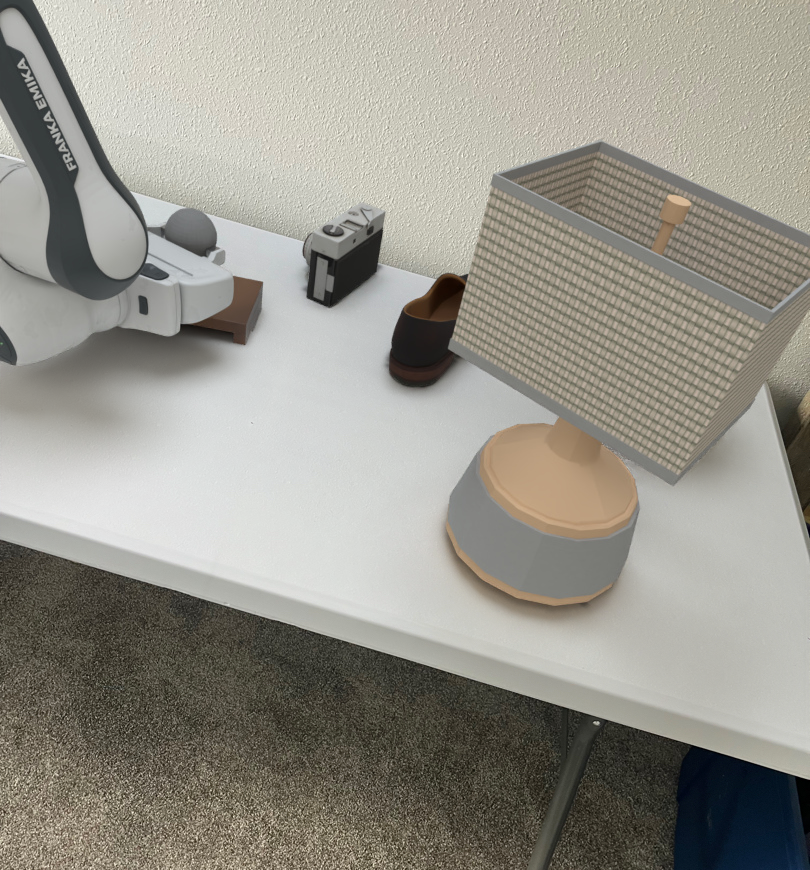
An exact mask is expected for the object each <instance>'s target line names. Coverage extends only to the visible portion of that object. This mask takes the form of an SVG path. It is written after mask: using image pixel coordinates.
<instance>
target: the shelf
mask: <svg viewBox="0 0 810 870" xmlns="http://www.w3.org/2000/svg"><path fill="white" fill-rule="evenodd" d="M233 281H234V293H233V300H232V303H231V304H230V305H229V306H228V307H227V308H225V309H223V310H222V311H220V312H218V313H216V314H214V315H212V316H210V317H208V318H206V319H204V320H202V321H199V322H196V323H192V324H190V325H192V326H197V327H202V328H207V329H212V330H217V331H222V332H226V333H227V332H228V333H233V334H232V335H233V338H232V340H233V341H232V343H233V344H235V345H236V344H237V345H242V346H246V345H247V342H248V339H249V337H250V334H251V332H252V333H253V332H254V330H255V327H256V324H257V322H258V319H259V317H260V314H261V312H262V308H263V293H264V292H263V291H264V281H261V280H257V279H251V278H248V277H242V276H237V275H233Z"/></svg>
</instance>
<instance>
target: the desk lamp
mask: <svg viewBox="0 0 810 870" xmlns="http://www.w3.org/2000/svg"><path fill="white" fill-rule="evenodd" d="M489 185H490V191H489V194H488V197H487V201H486V206H485V210H484V214H483V218H482V220H481V225H480V229H479V233H478V237H477V240H476V243H475V249H474V252H473V257H472V260H471V264H470V268H469V271H468V274H469V275H468V279H467V283H466V286H465V290H464V294H463V298H462V302H461V306H460V309H459V313H458V317H457V321H456V325H455V329H454V333H453V336H452V338H451V339H450V343H449V346H448V349H449V350H451V351H452V352H454V353H456V354H455V355H457V356H459V357H461V358H462V359H464V360H465V361H467V362H469V363H470V364H472V365H474V366H475V367H477V368H478V369H480V370H481V371H483V372H485V373H487V374H488V375H490V376H492V377H493V378H495V379H497V380H498V381H499V382H502V384H505V385H506V386H508V387H510V388H511V389H513V390H514V391H516V392H518V393H520V394H521V395H522V396H524V397H526V398H527V399H529V400H531V401H532V402H534V403H536V404H538V405H539V406H541V407H543V408H544V409H546V410H547V411H549V412H551V413H552V414H554V415H556V416H557V419H556V421H555V422H554V424H550V423H547V422H546V423H545V422H541V423H540V422H539V423H537V422H536V423H517V424H514V425H512V426H509V427H506V428H504V429H502V430H499V431H496V432H495V433H494V434H492V435H490V436H489V437H488V438H487V439H486V441H485V442H484V443H483V445H482V446H481V447H480V448H479V450H477V452H476V453H475V455H474V457H473V458H472V460H471V461H470V463H469V464H468V466H467V468H466V469H465V471H463V472H464V473H463V474H462V475H461V477H460V479H459V480H458V482H457V483H456V485H455V486H454V488H453V490H452V491H451V493H450V495H449V500H448V504H447V513H446V524H445V526H446V527H445V529H446V532H447V535H448V536H449V539H450V541H451V543H452V546H453V548H454V551H455V553H456V556H457V557H459V558H460V559H461V560H462V561H463V562H464V564H465V565H466V566H468V568H469V569H471V571H472V572H474V574H476V575H477V577H479V578H480V580H482V581H484V582H485V583H487V584H489V585H491V586H493V587H495V588H497V589H499V590H500V591H502V592H503V593H506V594H508V595H509V596H512V597H513V598H516V599H519V600H523V601H527V602H528V601H529V602H534V603H539V604H543V605H549V606H553V607H556V606H565V605H572V604H573V605H574V604H580V603H581V604H582V603H587V602H589V601H591V600H593V599H595V598H596V597H598V596H599V595H601V594H603V593H604V592H607V590H609V589H611V588H612V587H613V585H614V583H615V582H616V581H618V578H619V577H620V575H621V573H622V570H623V568H624V566H625V564H626V561H627V560H628V557H629V554H630V549H631V545H632V541H633V538H634V533H635V530H636V525H637V521H638V518H639V513H640V510H641V505H640V499H639V493H638V487H637V483H636V479H635V478H634V476H633V475H632V473H631V471H630V470H629V469H628V467H627V466H626V465H625V463H624V461H623V460H622V459H621V458H620V457H619V456H618V455H617V454H616V453H618V454H619V455H621V456H622V457H624V458H626V459H628V460H629V461H631V462H633V463H634V464H636V465H637V466H639V467H641V468H642V469H644V470H646V472H647V471H648V472H649V473H651V474H652V475H654V476H656V477H657V478H658V479H660V480H662V481H664V482H666V483H667V484H669V485H670V486H672V487H674V486H675V485H676V484H677V483H678V482H679V481H680V480H681V479H682V478H683V477H684V476H685V475H686V474H687V473H688V472H689V471H690V470H691V469H692V468H693V467H694V466H695V465H696V464H697V463H698V462H699V461H700V460H701V459H702V458H703V457H704V456H705V455H706V453H708V452H709V451H710V449H711V448H713V447H714V445H716V444H717V442H719V441H720V440H721V438H722V437H724V436H725V434H726V433H727V432H728V431H729V430H730V429H731V428H732V427H733V426H734V425H735V424H737V422H738V421H739V420H740V419H741V418H742V417H744V415H745V414H746V413H747V412H748V411H749V410H750V409H751V408H752V406H753V404H754V402H755V401H756V397H757V396H758V394H759V392H760V391H761V389H762V388H763V386H764V385H765V383H766V381H767V380H768V378H769V376H770V374H771V373H772V371H773V370H774V368H775V366H776V364H777V363H778V361H779V360H780V358H781V356H782V354H783V353H784V352H785V350H786V348H787V347H788V345H789V343H790V342H791V340H792V338H793V336H794V335H795V333H796V332H797V330H798V329H799V327H800V325H802V324H801V323H802V322H803V320H804V319H805V317H806V315H807V314H808V312H809V310H810V233H808V232H805V231H803V230H802V229H799V228H798V227H794V226H792V225H790V224H788V223H786V222H783V221H781V220H779V219H777V218H775V217H773V216H771V215H768V214H765V212H764V213H763V212H761V211H759V210H757V209H755V208H753V207H750V206H748V205H746V204H744V203H741V202H740V201H738V200H735V199H732V198H730V197H728V196H726V195H723V194H721V193H719V192H717V191H715V190H713V189H711V188H708V187H706V186H705V185H704V186H703V185H702V184H699V183H697V182H695V181H692V180H691V179H688V178H687V177H684V176H682V175H679V174H677V173H675V172H672V171H671V170H668V169H666V168H664V167H662V166H659V165H657V164H655V163H652V162H650V161H648V160H646V159H644V158H642V157H639V156H638V155H636V154H634V153H630V152H628V151H626V150H624V149H621V148H619V147H617V146H615V145H612V144H611V143H609V142H606V141H604V140H602V139H599V140H596V141H592V142H589V143H586V144H583V145H580V146H576V147H573V148H571V149H567V150H564V151H561V152H557V153H555V154H552V155H548V156H544V157H542V158H539V159H535V160H532V161H528V162H525V163H523V164H519V165H516V166H514V167H509V168H506V169H503V170H500V171H497V172H494V173H492V177H491V181H490V184H489ZM607 447H608V448H607ZM609 448H610V449H611V450H610V449H609ZM612 450H613V451H614V452H616V453H614V452H613V451H612Z"/></svg>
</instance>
